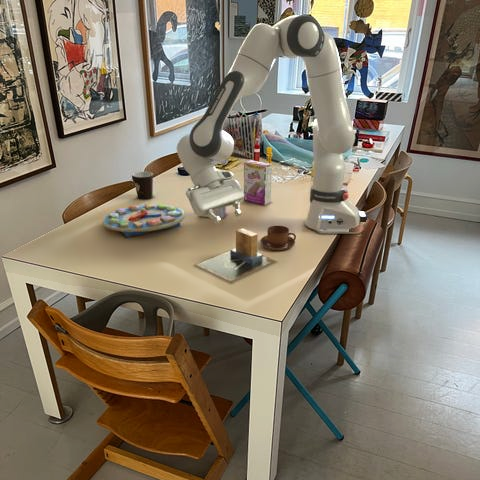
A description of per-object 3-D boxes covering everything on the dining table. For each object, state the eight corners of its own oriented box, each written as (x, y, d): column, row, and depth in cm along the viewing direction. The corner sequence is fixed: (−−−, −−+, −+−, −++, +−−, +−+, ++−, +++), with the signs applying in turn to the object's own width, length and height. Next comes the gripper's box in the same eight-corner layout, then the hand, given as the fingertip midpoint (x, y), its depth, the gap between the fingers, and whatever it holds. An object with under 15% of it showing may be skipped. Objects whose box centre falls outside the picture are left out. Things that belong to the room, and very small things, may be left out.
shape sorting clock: (167, 205, 201) (166, 191, 198) (197, 229, 179) (197, 214, 176) (94, 218, 189) (92, 203, 185) (117, 246, 166) (115, 229, 163)
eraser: (230, 255, 159) (230, 229, 154) (240, 251, 162) (241, 225, 157) (252, 265, 153) (252, 238, 148) (262, 260, 156) (263, 234, 151)
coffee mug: (157, 199, 208) (154, 176, 203) (137, 201, 206) (134, 178, 200) (151, 191, 217) (148, 169, 212) (132, 193, 215) (129, 171, 209)
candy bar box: (243, 200, 206) (243, 162, 198) (249, 197, 210) (250, 159, 201) (264, 206, 201) (265, 166, 192) (271, 202, 204) (272, 163, 195)
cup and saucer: (290, 238, 172) (291, 222, 169) (298, 252, 162) (299, 235, 159) (257, 240, 171) (257, 223, 167) (263, 254, 161) (264, 237, 157)
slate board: (239, 247, 165) (239, 246, 165) (274, 262, 156) (274, 260, 155) (195, 266, 153) (195, 264, 153) (230, 282, 144) (230, 281, 143)
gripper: (187, 183, 147) (209, 222, 147) (234, 170, 160) (255, 206, 159) (179, 194, 153) (200, 231, 152) (225, 181, 165) (245, 215, 164)
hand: (229, 218), depth 156 cm, fingers open, 8 cm apart
